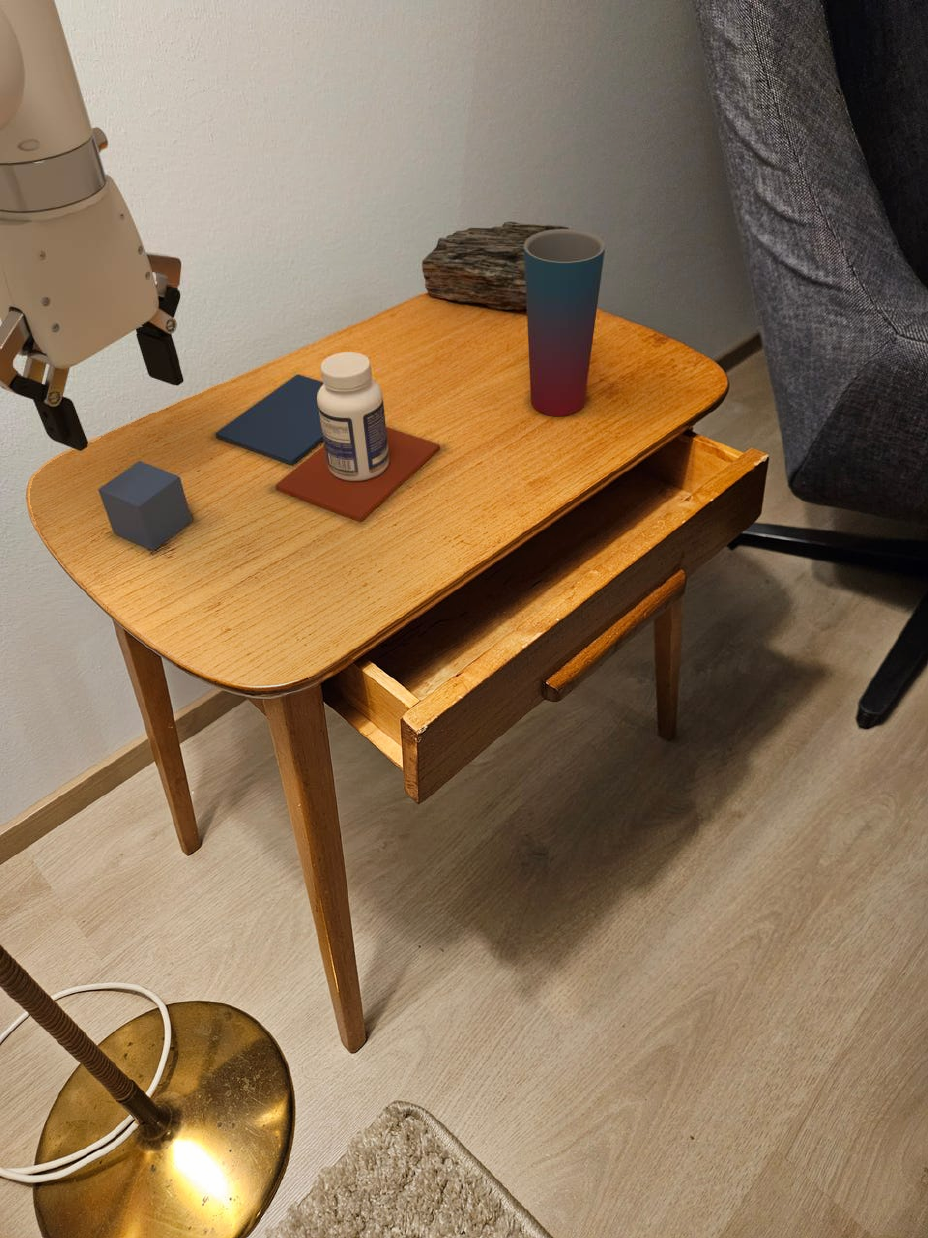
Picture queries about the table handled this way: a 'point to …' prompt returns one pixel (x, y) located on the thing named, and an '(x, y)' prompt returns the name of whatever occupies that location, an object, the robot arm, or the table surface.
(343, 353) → the pill bottle
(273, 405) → the blue mat
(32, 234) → the robot arm
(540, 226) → the rock
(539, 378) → the cup
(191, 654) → the table surface
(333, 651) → the table surface
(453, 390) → the table surface
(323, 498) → the rust mat
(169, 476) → the blue block
